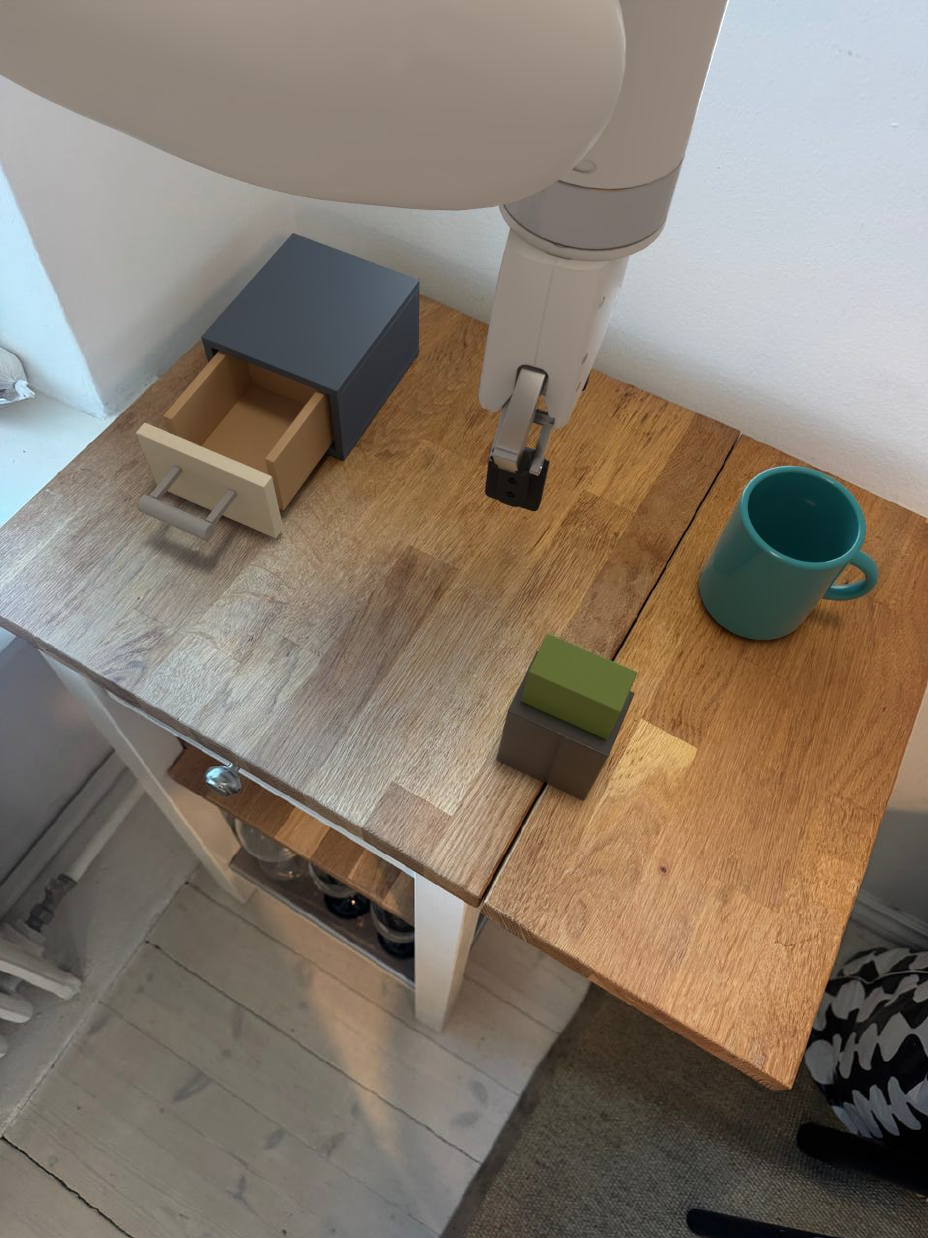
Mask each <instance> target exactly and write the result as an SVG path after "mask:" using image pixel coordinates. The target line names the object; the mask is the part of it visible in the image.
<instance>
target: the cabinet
mask: <svg viewBox="0 0 928 1238" xmlns="http://www.w3.org/2000/svg"><path fill="white" fill-rule="evenodd" d="M420 280H421V279H420V278H417V277H413V276H411V275H408V274H406V273H403V272H400V271H397V270H396V269H392V268H389V267H388V266H384V265H382V264H379V263H376V262H374V261H370V260H368V259H365V258H362V257H359V256H357V255H354V254H352V253H348V252H346V251H343V250H341V249H338V248H336V247H334V246H330V245H327V244H324V243H322V242H318V241H317V240H314V239H312V238H311V239H310V238H309V237H306V236H303V235H300V234H297V233H294V232H292V233H291V234H290V236H288V238H287V239H286V240H285V241H284V242H283V244H281V246H280V247H279V248H278V249H277V250H276V251H275V252H274V254H272V256H271V257H270V258H269V259H268V261H266V262H265V264H264V265H263V266H262V267H261V268H260V269H259V270H258V272H257V273H256V274H255V275H254V277H253V278H251V280H250V281H248V283H247V284H246V285H245V286H244V288H242V290H241V291H240V292H239V293H238V294H237V295H236V297H234V299H233V300H232V301H231V302H230V303H229V304H228V305H227V307H226V308H225V309H224V310H223V311H222V312H221V314H220V315H219V316H218V317H217V318H216V319H215V320H214V321H213V323H212V324H211V325H209V327H208V328H207V330H206V331H204V333H203V334H201V336H200V338H201V339H200V340H201V343H202V346H203V350H204V352H205V353H204V354H205V357H206V360H207V364H208V363H209V362H210V361H211V359H212V358H213V357H214V356H215V355H216V354H217V353H218V351H222V352H224V353H227V354H229V355H232V356H234V357H236V358H239V359H241V360H244V361H246V362H249V363H251V364H254V365H256V366H259V367H261V368H264V369H266V370H269V371H271V372H274V373H276V374H279V375H281V376H284V377H286V378H289V379H291V380H294V381H296V382H299V383H301V384H304V385H306V386H309V387H311V388H314V389H316V390H319V391H321V392H324V393H326V394H329V397H330V406H331V415H332V423H333V432H334V441H333V442H332V444H331V445H330V447H329V448H328V449H327V451H326V452H325V454H327V455H330V456H332V457H334V458H337V459H339V460H341V461H345V460H346V458H348V456H349V454H350V453H351V451H353V448H354V447H355V446H356V444H357V443H358V442H359V440H360V439H361V437H362V436H363V434H364V433H365V432H366V430H367V429H368V427H369V426H370V425H371V423H372V422H373V420H374V419H375V417H376V416H377V414H378V413H379V412H380V410H381V408H382V407H383V406H384V404H385V403H386V402H387V400H388V399H389V397H390V396H391V394H392V393H393V391H394V390H395V388H396V387H397V386H398V384H399V383H400V382H401V380H402V379H403V376H405V374H406V373H407V371H408V370H409V368H410V367H411V365H412V364H413V363H414V361H415V360H416V358H417V357H418V355H419V354H420V287H421V284H420V283H421V282H420Z"/></svg>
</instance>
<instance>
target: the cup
mask: <svg viewBox="0 0 928 1238" xmlns="http://www.w3.org/2000/svg"><path fill="white" fill-rule="evenodd" d="M866 535H867V523H866V517H865V514H864V511H863V509H862V507H861V505H860V503H859V502H858V500H857V499H856V497H855V496H854V495H853V494H852V493H851V492H850V490H849V489H848V488H846V487H845V486H844V485H843V484H842V483H840V482H839V481H838V480H836V479H834V478H833V477H831V476H830V475H828V474H826V473H824V472H821V471H819V470H816V469H813V468H809V467H806V466H805V467H804V466H798V465H782V466H775V467H771V468H768V469H766V470H763V471H760V473H758V474H756V475H755V476H754V477H753V478H751V479H750V481H748V483H747V484H746V485H745V487H744V489H743V490H742V492H741V494H740V495H739V498H738V499H737V502H736V503H735V505H734V507H733V509H732V510H731V512H730V514H729V517H728V519H727V520H726V521H725V524H724V526H723V527H722V529H721V532H720V533H719V535H718V537H717V539H716V541H715V542H714V544H713V547H711V550H710V552H709V554H708V556H707V558H706V560H705V561H704V563H703V566H702V568H701V570H700V573H699V579H698V585H699V586H698V587H699V588H698V589H699V594H700V598H701V601H702V604H703V605H704V608H705V609H706V611H707V612H708V613H709V615H710V616H711V617H712V618H713V620H715V622H716V623H718V624H719V625H720V626H721V627H722V628H724V629H726V631H729V632H730V633H733V634H734V635H737V636H738V637H742V638H744V639H745V638H746V639H750V640H754V641H772V640H776V639H778V640H779V639H781V638H783V637H787V636H788V635H790V634H792V633H793V632H795V631H796V630H797V629H798V628H799V627H800V626H801V625H802V624H803V623H804V622H805V621H806V619H807V618H808V617H809V616H810V614H811V613H812V612H813V611H814V610H815V608H816V607H817V605H818V604H819V603H820V602H821V600H826V601H834V602H845V601H852V600H857V599H860V598H862V597H865V596H867V595H868V594H870V593H871V592H872V591H873V590H874V589H875V588H876V586H877V585H878V582H879V577H880V573H879V572H880V571H879V567H878V565H877V563H876V561H875V560H874V559H873V557H871V556H870V554H868V553H867V552H864V550H861V549H862V548H863V546H864V543H865V541H866ZM849 565H851V566H852V567H853V566H854V567H855V568H857V569H858V570H860V571H861V572H862V573H863V575H864V577H862V578H861V579H859V580H858V581H856V582H852V583H847V584H846V583H845V584H836V582H837V580H838V579H839V578H840V576H841V575H842V574H843V573H844V572H845V570H846V569H847V568H848V566H849Z"/></svg>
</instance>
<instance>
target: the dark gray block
mask: <svg viewBox="0 0 928 1238" xmlns="http://www.w3.org/2000/svg"><path fill="white" fill-rule="evenodd" d="M538 651H539V650H536V651H535V653H534V656H533V658H532V660H531V662H530V664H529V666H528V668H527V670H526V671H525V674H524V676H523V678H522V680H521V683H520V684H519V687H518V688H517V691H516V693H515V695H514V697H513V698H512V701H511V703H510V705H509V707H508V709H507V712H506V716H505V720H504V724H503V729H502V733H501V738H500V742H499V746H498V751H497V755H496V761H497V762H500V763H502V764H504V765H507V766H509V767H511V768H513V769H515V770H517V771H520V772H521V773H524V774H526V775H528V776H530V777H532V778H535V779H537V780H539V781H541V782H543V783H545V784H547V785H550V786H552V787H553V788H556V789H558V790H560V791H562V792H565V793H567V794H569V795H571V796H574V797H576V798H578V799H580V800H582V801H586V799H587V797H588V795H589V794H590V792H591V790H592V788H593V786H594V784H595V783H596V781H597V779H598V776H599V775H600V773H601V772H602V770H603V768H604V766H605V764H606V762H607V760H608V759H609V756H610V754H611V752H612V749H613V747H614V745H615V743H616V740H617V737H618V735H619V732H620V730H621V728H622V725H623V723H624V720H625V718H626V716H627V713H628V711H629V709H630V706H631V703H632V701H633V699H634V696H635V691H632V690H630V692H629V695H628V697H627V699H626V702H625V704H624V707H623V709H622V711H621V713H620V715H619V717H618V719H617V721H616V723H615V725H614V727H613V729H612V731H611V733H610V735H609V737H608V739H604V738H601V737H599V736H597V735H595V734H592V733H590V732H588V731H586V730H584V729H581V728H579V727H577V726H575V725H572V724H570V723H568V722H566V721H564V720H561V719H559V718H557V717H555V716H552V715H550V714H548V713H546V712H543V711H541V710H539V709H537V708H535V707H532V706H530V705H528V704H526V703H523V702H522V701H521V699H522V695H523V691H524V687H525V684H526V680H527V676H528V672H529V669H530V667H531V665H532V663H533V661H534V659H535V657H536V655H537V653H538Z"/></svg>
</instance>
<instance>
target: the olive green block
mask: <svg viewBox="0 0 928 1238" xmlns="http://www.w3.org/2000/svg"><path fill="white" fill-rule="evenodd" d="M537 651H538V653H537V655H536V657H535V659H534V661H533V663H532V665H531V667H530V669H529V672H528V676H527V680H526V684H525V687H524V691H523V695H522V699H521V701H522V702H523V703H526V704H528V705H530V706H532V707H535V708H537V709H539V710H541V711H543V712H546V713H548V714H550V715H552V716H555V717H557V718H559V719H561V720H564V721H566V722H568V723H570V724H572V725H575V726H577V727H579V728H581V729H584V730H586V731H588V732H590V733H592V734H595V735H597V736H599V737H601V738H604V739H608V737H609V735H610V733H611V731H612V729H613V727H614V725H615V723H616V721H617V719H618V717H619V715H620V713H621V711H622V709H623V707H624V704H625V702H626V699H627V697H628V695H629V692H630V691H632V690H631V689H632V687H633V685H634V682H635V680H636V677H637V676H638V671H636V670H633V669H631V668H630V667H627V666H624V665H622V664H619V663H618V662H615V661H613V660H611V659H608V658H606V657H604V656H601V655H599V654H597V653H595V652H592V651H590V650H588V649H585V648H583V647H581V646H579V645H576V644H573V643H572V642H569V641H567V640H564V639H562V638H559V637H557V636H555V635H553V634H550V633H546V634H545V637H544V638H543V640H542V643H541V645H540V647H539V649H538V650H537Z"/></svg>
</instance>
